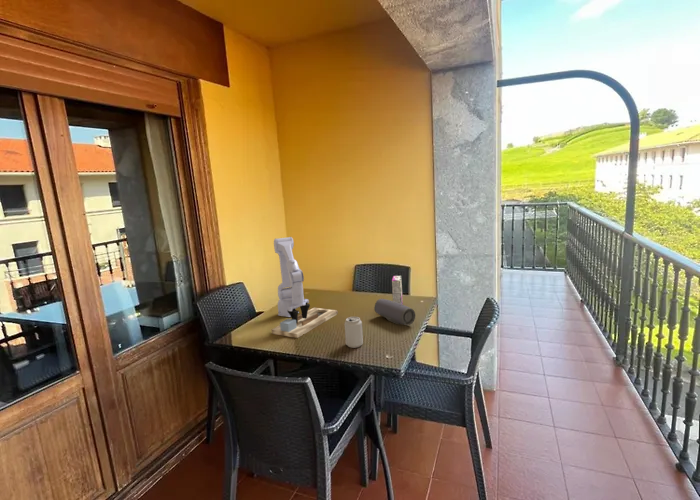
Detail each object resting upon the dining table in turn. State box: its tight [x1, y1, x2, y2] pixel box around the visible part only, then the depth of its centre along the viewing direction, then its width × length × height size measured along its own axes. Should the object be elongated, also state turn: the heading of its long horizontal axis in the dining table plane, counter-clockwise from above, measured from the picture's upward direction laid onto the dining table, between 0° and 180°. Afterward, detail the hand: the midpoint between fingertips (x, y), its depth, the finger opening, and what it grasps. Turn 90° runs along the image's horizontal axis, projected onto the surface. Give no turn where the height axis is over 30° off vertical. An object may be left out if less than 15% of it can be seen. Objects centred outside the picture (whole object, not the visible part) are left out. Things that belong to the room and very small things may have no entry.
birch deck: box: [270, 307, 339, 339], centre depth 189 cm, size 16×36×2 cm, turn 150°
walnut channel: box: [298, 313, 318, 326], centre depth 187 cm, size 8×13×2 cm, turn 150°
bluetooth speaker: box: [373, 298, 416, 326], centre depth 183 cm, size 23×9×10 cm, turn 32°
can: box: [344, 316, 364, 349], centre depth 157 cm, size 8×8×12 cm
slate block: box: [279, 318, 297, 332], centre depth 176 cm, size 5×6×4 cm
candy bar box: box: [391, 275, 404, 305], centre depth 207 cm, size 11×5×16 cm, turn 168°
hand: (300, 320), depth 184 cm, fingers open, 7 cm apart
